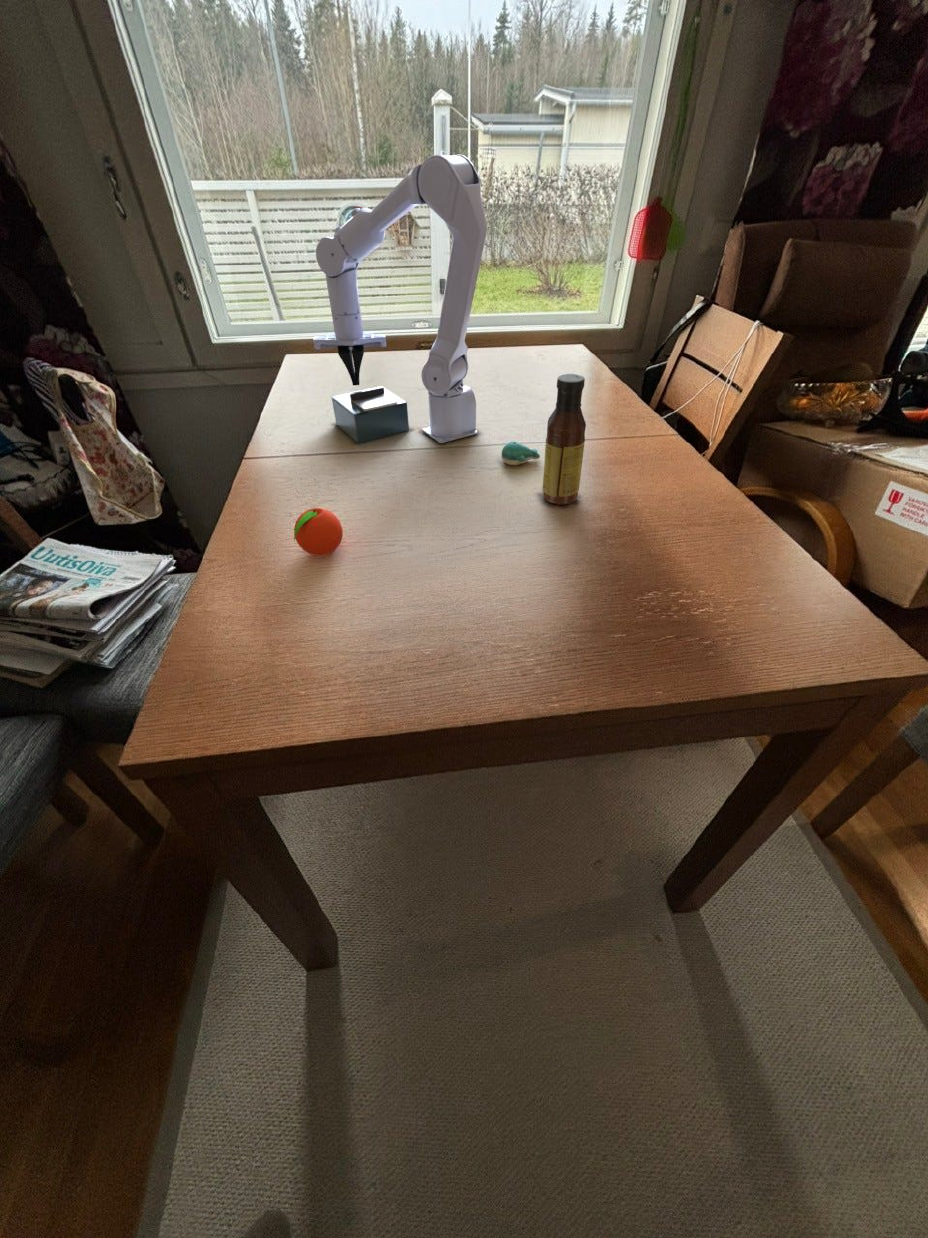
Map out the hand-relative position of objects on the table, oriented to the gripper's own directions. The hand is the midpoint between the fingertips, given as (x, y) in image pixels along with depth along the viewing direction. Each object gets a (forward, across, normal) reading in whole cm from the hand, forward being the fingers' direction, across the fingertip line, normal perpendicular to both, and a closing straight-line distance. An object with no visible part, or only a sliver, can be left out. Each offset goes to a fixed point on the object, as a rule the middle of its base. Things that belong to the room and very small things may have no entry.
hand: (356, 383), depth 109 cm
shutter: (+2, +4, -7) cm, 8 cm away
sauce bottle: (+8, +35, -40) cm, 54 cm away
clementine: (+8, -5, -52) cm, 53 cm away
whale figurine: (+8, +31, -26) cm, 41 cm away
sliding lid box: (+8, +2, -5) cm, 9 cm away
